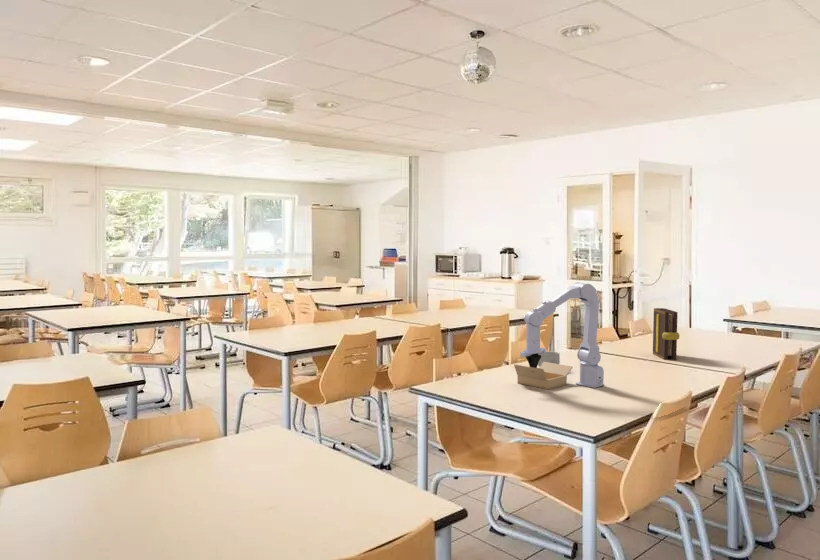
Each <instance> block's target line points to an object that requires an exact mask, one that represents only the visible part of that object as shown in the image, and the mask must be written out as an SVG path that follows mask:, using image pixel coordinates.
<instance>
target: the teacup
mask: <svg viewBox="0 0 820 560" xmlns="http://www.w3.org/2000/svg"><path fill="white" fill-rule="evenodd" d="M538 355H541V359H540V360H539V363H538V365H537V367H538V368H539V367H540V366H541V365H542V363H543V362H549V363H555V364H561V363H560V362H561V361H560V360H561V357H560V352H558V351H553V350H551V351H546V353H540V354H538Z"/></svg>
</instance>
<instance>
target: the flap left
mask: <svg viewBox="0 0 820 560" xmlns="http://www.w3.org/2000/svg"><path fill="white" fill-rule="evenodd" d="M513 365H514V369H515V372H516V376H518V375H520V376H525V377H530V378H535V379H540V380H545V381H546V380H547V379H546V376H545V373H544V369H540V368H539V367H537V368H535V367H530V366H529V365H523V364H519V363H513ZM531 371H533V372H531Z"/></svg>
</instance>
